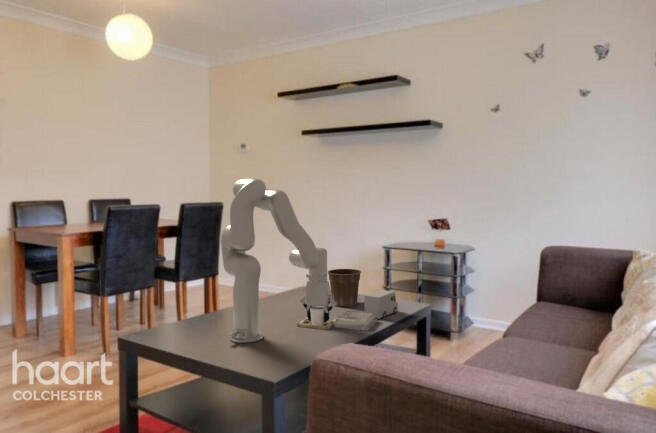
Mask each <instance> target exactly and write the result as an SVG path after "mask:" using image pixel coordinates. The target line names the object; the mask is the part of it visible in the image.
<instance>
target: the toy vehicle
mask: <svg viewBox="0 0 656 433" xmlns="http://www.w3.org/2000/svg"><path fill="white" fill-rule="evenodd" d="M363 303H364V304H363V306H364V307H363V308H364V310H363V311H364V312H365V313H374V316H377V320H379V319H386V318H387V316H389V315H390V314H396V313H397V311H398V309H399V303H398V302H397V297H396V291H392V290H387V289H385V290H384V289H379V290H375V291H373V292H370V293H366V294H364V302H363Z"/></svg>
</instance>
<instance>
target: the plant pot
mask: <svg viewBox="0 0 656 433" xmlns="http://www.w3.org/2000/svg"><path fill="white" fill-rule="evenodd" d="M361 274H362V271H361V269H360V270H359V269H355V268H334V269H330V270H327V275H328V281H329V286H330V294H331V298H332V299H333V300H334V301H335V302H336V305H335V306H334V307H344V308H350V307H355V306H357V304H358V298H359V285H360V284H359V283H360V280H361V279H360V278H361Z"/></svg>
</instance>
